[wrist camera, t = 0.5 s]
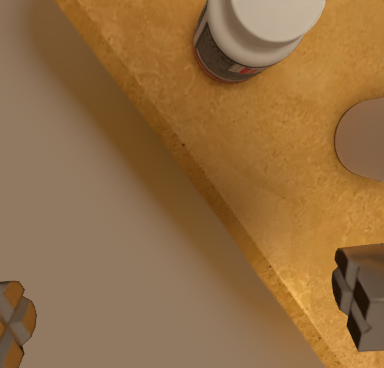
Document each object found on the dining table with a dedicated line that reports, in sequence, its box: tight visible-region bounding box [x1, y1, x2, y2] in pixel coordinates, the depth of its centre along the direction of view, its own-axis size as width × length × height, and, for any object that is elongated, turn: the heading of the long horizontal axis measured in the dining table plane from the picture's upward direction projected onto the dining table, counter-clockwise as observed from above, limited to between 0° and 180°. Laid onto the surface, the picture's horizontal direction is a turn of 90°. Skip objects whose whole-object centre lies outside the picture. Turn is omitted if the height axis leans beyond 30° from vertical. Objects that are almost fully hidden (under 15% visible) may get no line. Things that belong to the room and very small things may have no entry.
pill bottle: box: [193, 0, 326, 83], centre depth 20 cm, size 6×6×10 cm
